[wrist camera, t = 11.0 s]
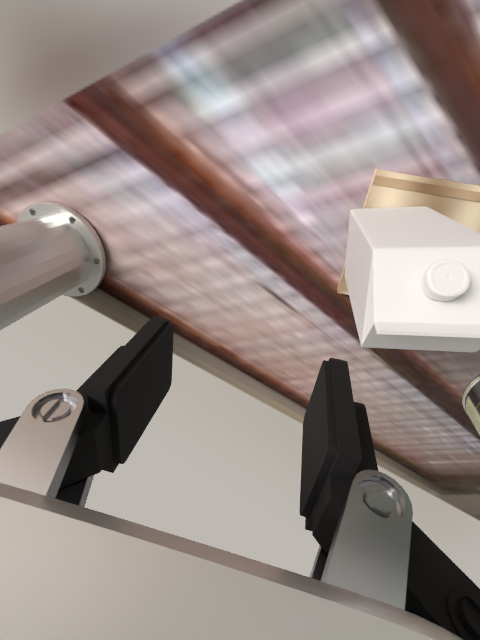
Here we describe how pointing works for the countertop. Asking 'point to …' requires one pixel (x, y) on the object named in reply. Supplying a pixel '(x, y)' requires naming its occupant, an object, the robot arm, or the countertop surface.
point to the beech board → (422, 199)
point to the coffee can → (473, 402)
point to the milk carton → (413, 279)
